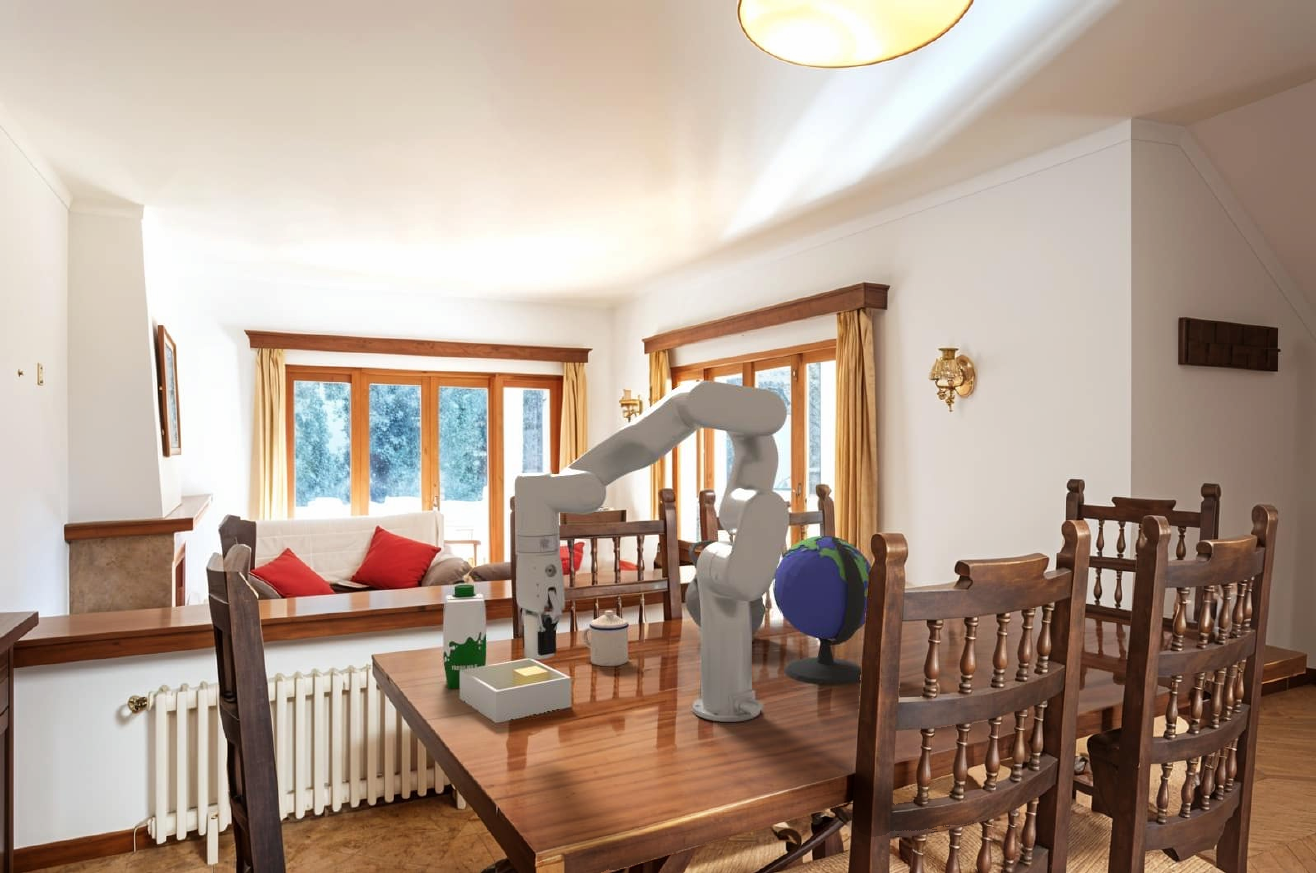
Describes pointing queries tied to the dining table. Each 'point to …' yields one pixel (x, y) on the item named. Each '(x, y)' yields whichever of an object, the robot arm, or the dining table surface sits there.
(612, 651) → the teacup with lid
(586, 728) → the dining table surface
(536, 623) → the white canister
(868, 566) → the globe
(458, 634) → the milk carton
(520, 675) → the mustard block
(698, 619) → the pot
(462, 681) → the tote
